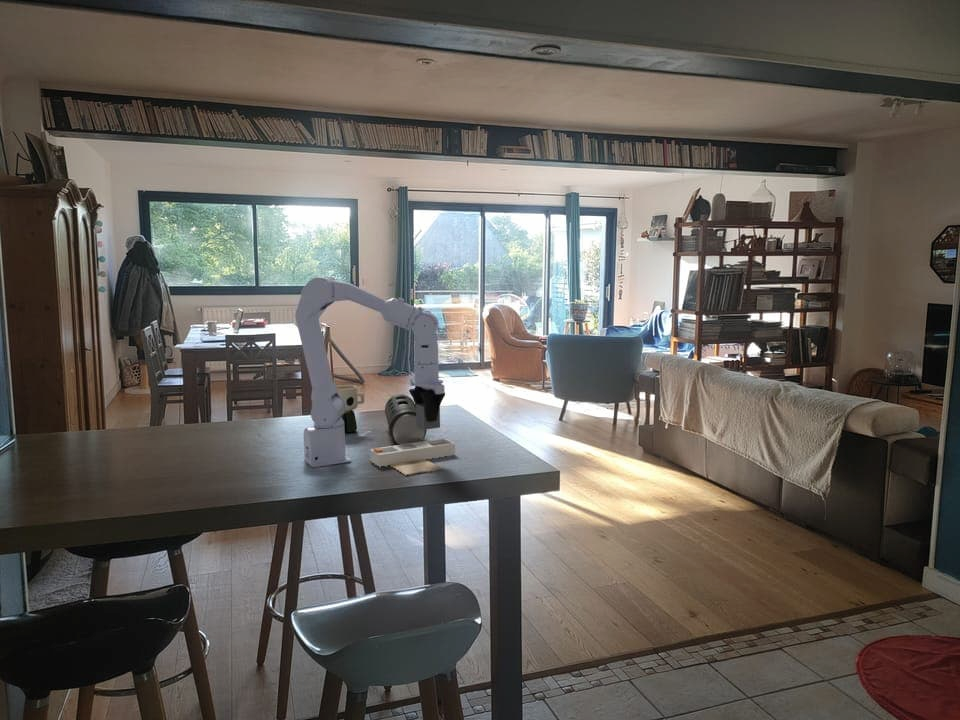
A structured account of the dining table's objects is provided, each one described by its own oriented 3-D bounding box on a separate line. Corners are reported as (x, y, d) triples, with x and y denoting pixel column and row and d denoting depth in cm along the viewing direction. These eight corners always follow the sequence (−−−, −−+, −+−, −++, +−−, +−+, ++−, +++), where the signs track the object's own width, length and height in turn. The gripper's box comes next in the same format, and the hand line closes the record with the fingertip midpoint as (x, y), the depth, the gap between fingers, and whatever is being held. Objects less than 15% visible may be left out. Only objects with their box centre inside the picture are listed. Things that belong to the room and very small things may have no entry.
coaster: (405, 476, 152) (405, 474, 152) (390, 466, 160) (390, 464, 160) (441, 469, 157) (441, 468, 157) (424, 460, 164) (424, 459, 164)
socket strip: (379, 467, 159) (378, 452, 159) (370, 461, 164) (369, 446, 164) (455, 455, 169) (455, 440, 168) (444, 449, 174) (444, 435, 174)
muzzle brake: (417, 427, 200) (416, 392, 199) (428, 451, 173) (427, 411, 172) (384, 429, 198) (383, 394, 197) (390, 454, 171) (389, 413, 170)
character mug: (326, 435, 190) (324, 390, 189) (326, 430, 197) (324, 385, 196) (365, 433, 192) (364, 388, 191) (365, 428, 199) (363, 384, 198)
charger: (424, 429, 161) (423, 406, 160) (416, 426, 164) (416, 403, 164) (440, 427, 163) (439, 404, 162) (432, 424, 167) (431, 401, 166)
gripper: (455, 365, 157) (456, 422, 159) (428, 358, 170) (429, 412, 172) (428, 367, 154) (429, 426, 156) (401, 360, 166) (403, 415, 168)
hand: (427, 419), depth 163 cm, fingers closed on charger, 4 cm apart
